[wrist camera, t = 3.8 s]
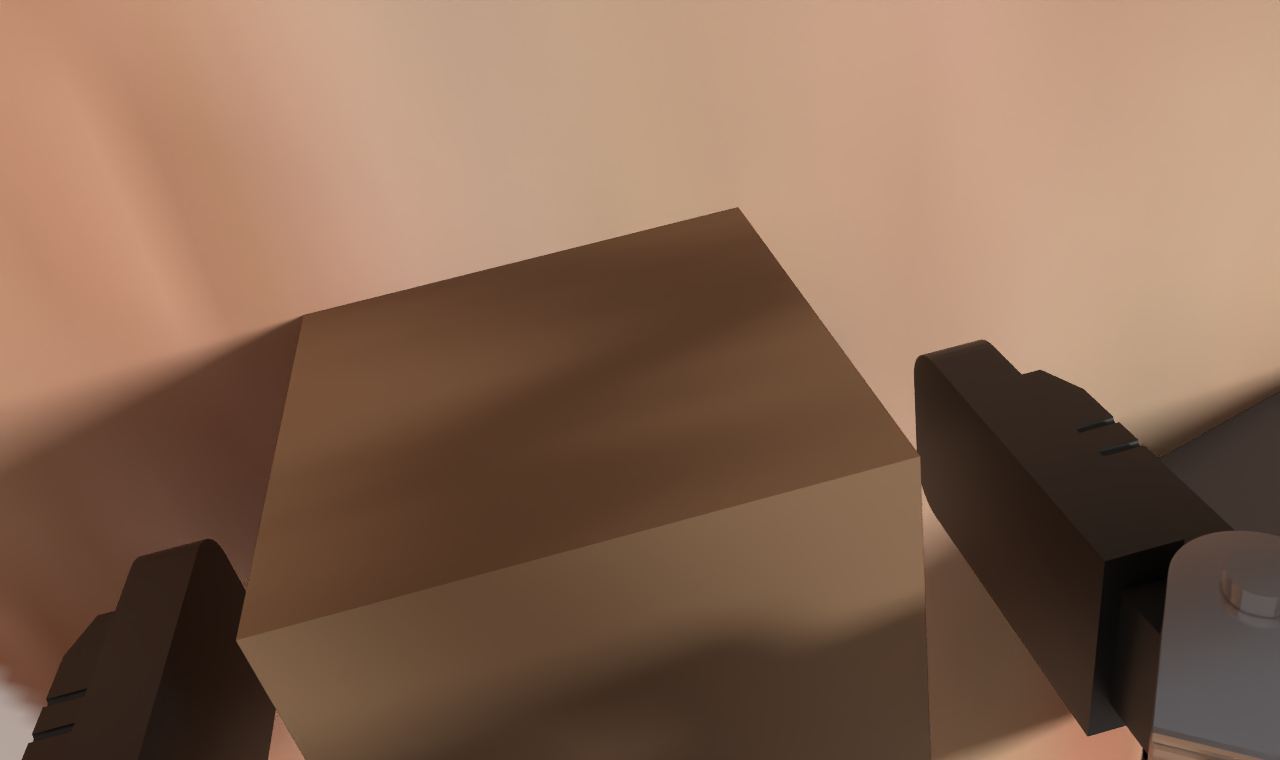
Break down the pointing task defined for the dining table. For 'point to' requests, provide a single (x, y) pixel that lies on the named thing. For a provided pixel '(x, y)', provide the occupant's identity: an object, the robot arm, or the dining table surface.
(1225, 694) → the robot arm
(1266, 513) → the charcoal block
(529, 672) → the walnut cube
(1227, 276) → the dining table surface
